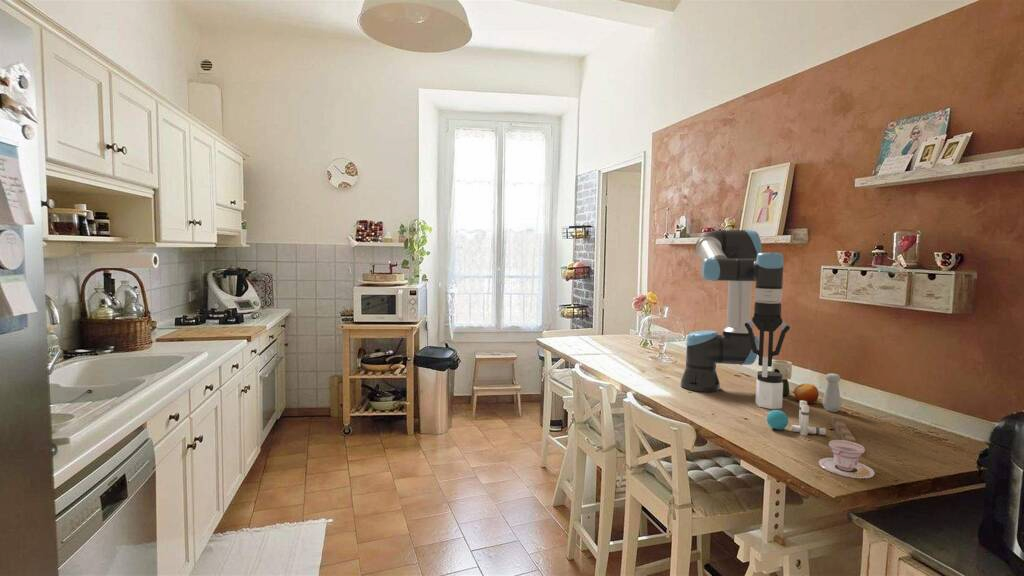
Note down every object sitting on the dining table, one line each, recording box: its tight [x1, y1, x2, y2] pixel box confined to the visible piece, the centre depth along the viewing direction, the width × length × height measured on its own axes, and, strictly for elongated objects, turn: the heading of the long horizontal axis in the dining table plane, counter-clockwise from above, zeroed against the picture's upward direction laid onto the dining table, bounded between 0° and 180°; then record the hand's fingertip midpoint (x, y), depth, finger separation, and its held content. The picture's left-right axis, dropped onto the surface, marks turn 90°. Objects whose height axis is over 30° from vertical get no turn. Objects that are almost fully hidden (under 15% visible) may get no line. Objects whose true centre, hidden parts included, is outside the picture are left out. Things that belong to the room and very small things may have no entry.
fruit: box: [793, 383, 820, 405], centre depth 188 cm, size 8×8×8 cm
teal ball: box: [766, 409, 789, 431], centre depth 158 cm, size 6×6×6 cm
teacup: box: [818, 439, 875, 480], centre depth 129 cm, size 12×12×6 cm
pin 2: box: [799, 404, 810, 437], centre depth 153 cm, size 2×2×9 cm
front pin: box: [790, 424, 827, 436], centre depth 154 cm, size 2×2×9 cm
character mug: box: [770, 359, 793, 396], centre depth 197 cm, size 11×7×13 cm, turn 3°
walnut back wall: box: [831, 415, 858, 443], centre depth 151 cm, size 24×2×3 cm, turn 157°
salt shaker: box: [821, 373, 842, 413], centre depth 178 cm, size 6×6×13 cm
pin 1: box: [798, 400, 808, 426], centre depth 157 cm, size 2×2×9 cm
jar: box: [755, 370, 784, 410], centre depth 182 cm, size 9×8×12 cm
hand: (764, 376), depth 159 cm, fingers closed
